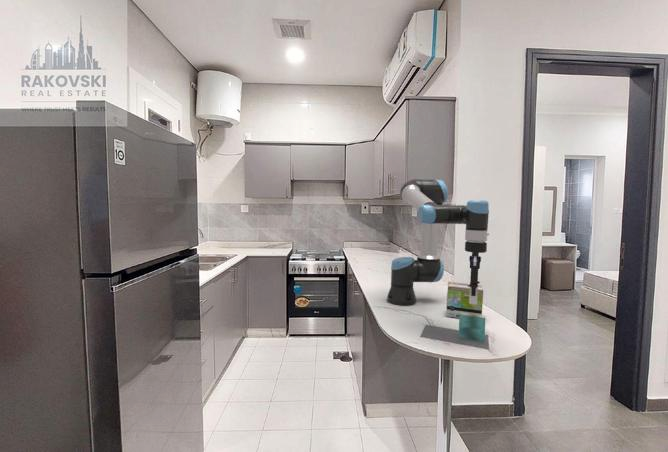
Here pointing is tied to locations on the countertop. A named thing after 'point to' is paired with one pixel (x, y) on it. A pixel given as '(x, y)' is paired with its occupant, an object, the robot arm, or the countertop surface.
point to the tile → (472, 326)
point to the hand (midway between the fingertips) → (473, 301)
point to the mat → (452, 337)
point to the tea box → (462, 300)
